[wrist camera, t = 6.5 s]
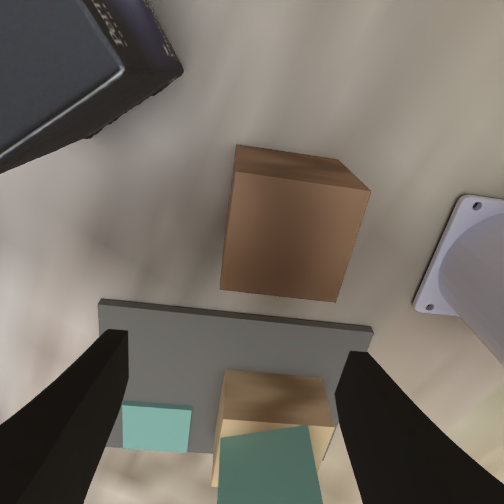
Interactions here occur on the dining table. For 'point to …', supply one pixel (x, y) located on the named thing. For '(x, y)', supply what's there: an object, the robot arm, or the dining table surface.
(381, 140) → the dining table surface
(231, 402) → the oak block
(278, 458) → the teal block
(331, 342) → the placemat
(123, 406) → the swatch
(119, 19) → the small box
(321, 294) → the walnut block
